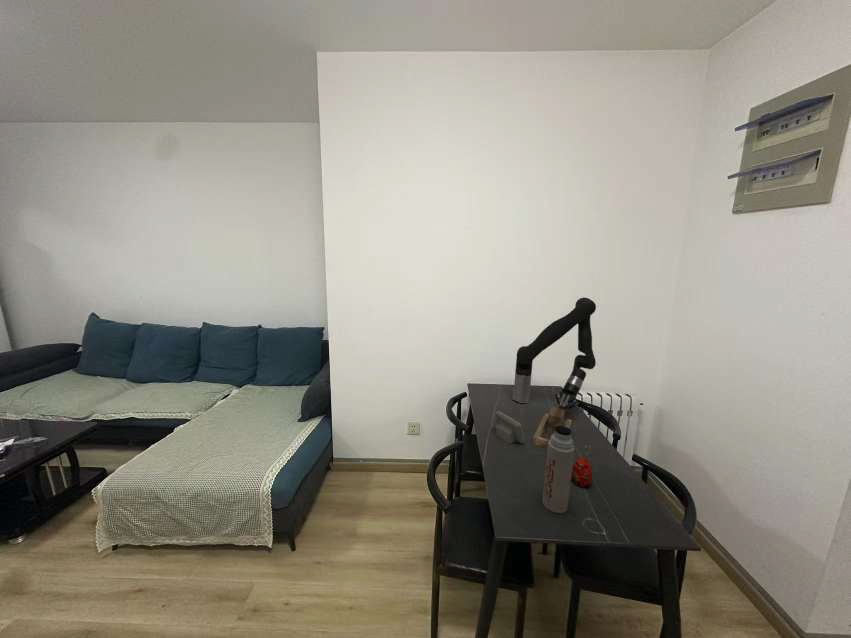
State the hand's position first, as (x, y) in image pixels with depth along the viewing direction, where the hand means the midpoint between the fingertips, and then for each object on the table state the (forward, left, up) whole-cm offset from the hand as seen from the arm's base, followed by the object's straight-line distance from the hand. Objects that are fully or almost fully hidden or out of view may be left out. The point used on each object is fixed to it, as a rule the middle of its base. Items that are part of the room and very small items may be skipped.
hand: (559, 413), depth 168 cm
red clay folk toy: (+15, -47, -4) cm, 50 cm away
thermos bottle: (+8, -65, -4) cm, 65 cm away
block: (0, -10, -4) cm, 11 cm away
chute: (0, -17, -4) cm, 17 cm away
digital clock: (-18, -31, -4) cm, 36 cm away
